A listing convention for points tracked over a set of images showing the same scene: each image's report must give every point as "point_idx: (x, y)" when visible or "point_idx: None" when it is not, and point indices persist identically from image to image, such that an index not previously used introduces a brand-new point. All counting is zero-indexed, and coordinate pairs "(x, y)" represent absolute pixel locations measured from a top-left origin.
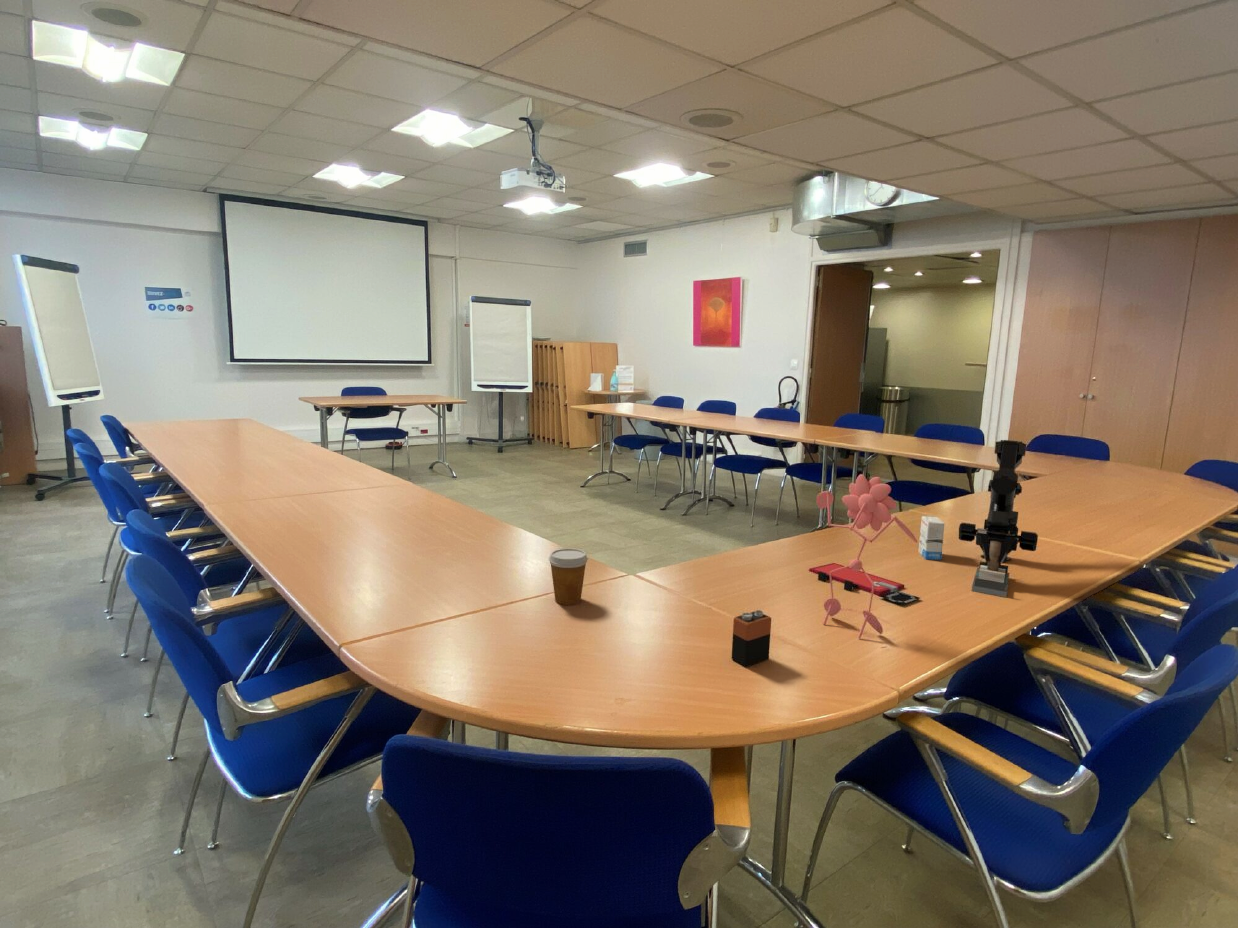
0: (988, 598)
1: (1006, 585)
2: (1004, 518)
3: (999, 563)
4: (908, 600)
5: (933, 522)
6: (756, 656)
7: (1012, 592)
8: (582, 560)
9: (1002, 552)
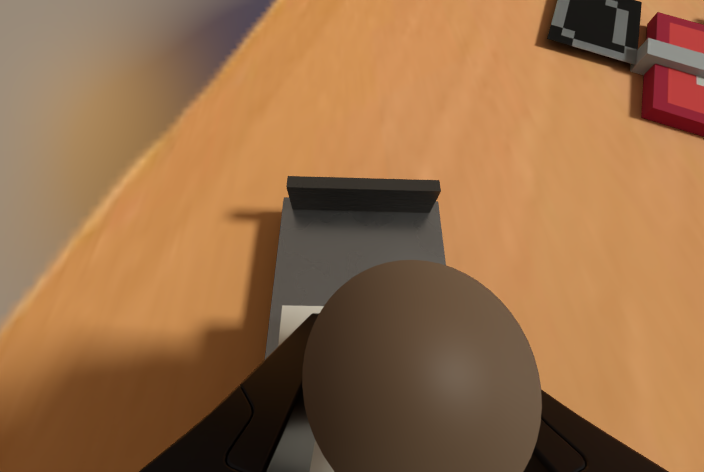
0: (356, 163)
1: (278, 305)
2: None
3: None
4: (564, 8)
5: None
6: None
7: (252, 305)
8: None
9: (289, 373)
